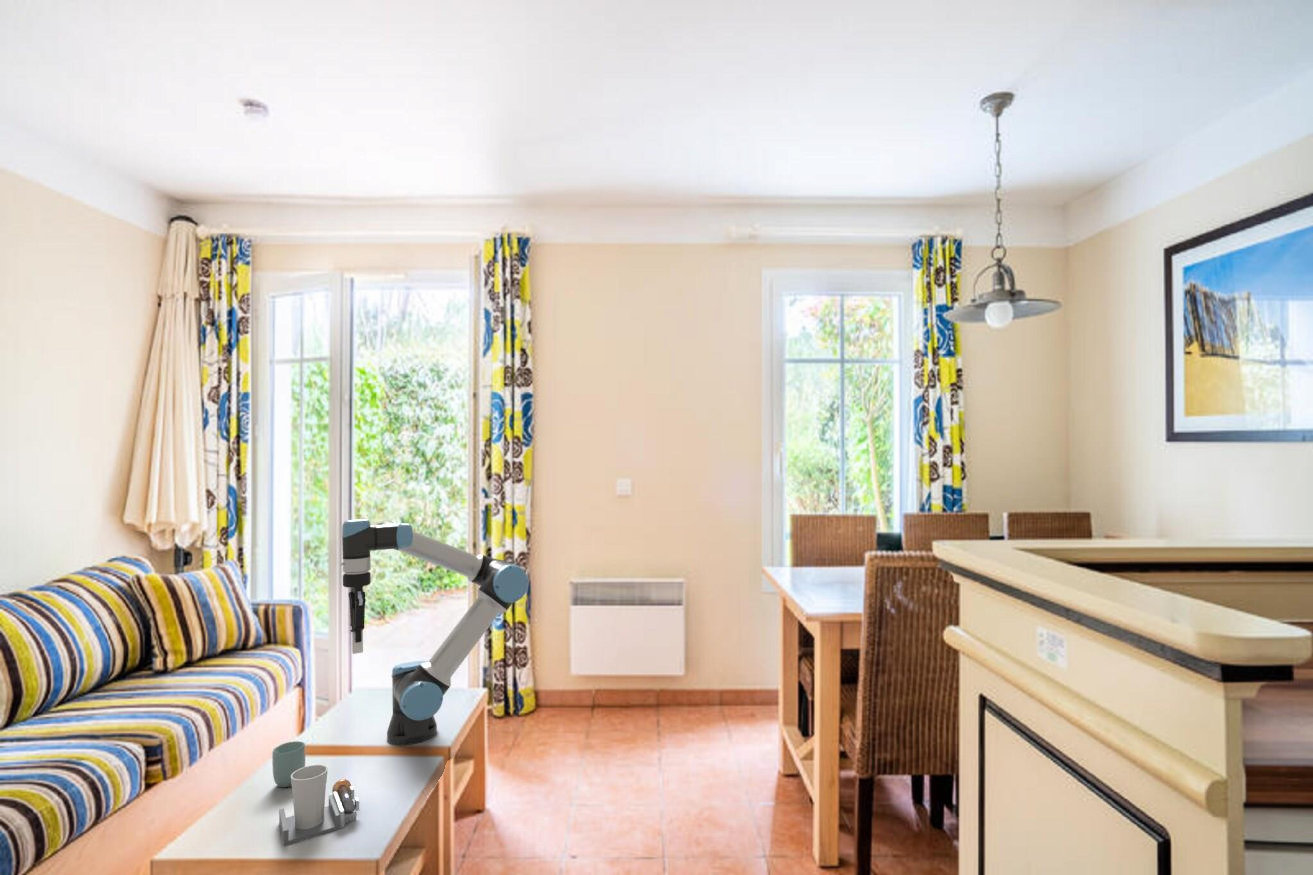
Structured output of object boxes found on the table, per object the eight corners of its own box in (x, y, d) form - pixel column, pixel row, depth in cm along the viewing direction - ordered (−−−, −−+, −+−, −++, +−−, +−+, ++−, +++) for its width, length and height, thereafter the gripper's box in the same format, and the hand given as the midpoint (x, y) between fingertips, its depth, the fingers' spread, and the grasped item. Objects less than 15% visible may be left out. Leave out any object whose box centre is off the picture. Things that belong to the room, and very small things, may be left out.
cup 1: (291, 791, 179) (290, 753, 179) (266, 789, 180) (266, 752, 180) (311, 777, 186) (311, 741, 187) (287, 776, 188) (287, 740, 188)
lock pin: (332, 799, 171) (332, 781, 171) (350, 794, 174) (350, 777, 174) (340, 821, 160) (340, 802, 161) (359, 815, 163) (359, 797, 163)
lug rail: (352, 802, 172) (352, 784, 172) (360, 822, 162) (360, 803, 162) (333, 807, 169) (332, 789, 169) (340, 828, 159) (340, 809, 160)
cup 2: (335, 816, 164) (335, 766, 164) (308, 833, 156) (308, 781, 156) (310, 811, 166) (310, 762, 167) (283, 828, 159) (282, 777, 159)
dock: (333, 807, 169) (333, 794, 169) (340, 828, 159) (340, 814, 159) (279, 823, 163) (279, 809, 163) (283, 845, 153) (283, 831, 153)
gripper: (339, 570, 199) (340, 650, 198) (346, 576, 189) (347, 660, 188) (366, 568, 204) (367, 645, 203) (374, 573, 193) (375, 655, 192)
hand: (357, 652), depth 195 cm, fingers closed
